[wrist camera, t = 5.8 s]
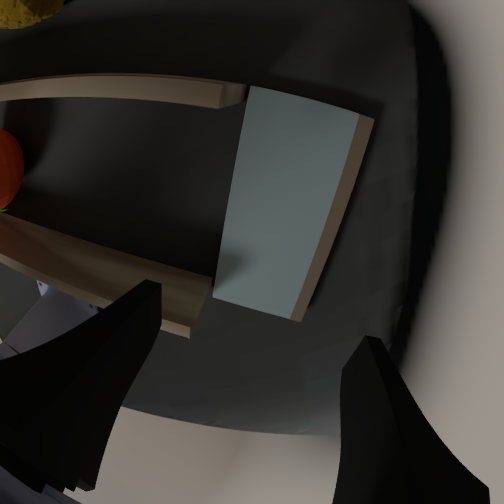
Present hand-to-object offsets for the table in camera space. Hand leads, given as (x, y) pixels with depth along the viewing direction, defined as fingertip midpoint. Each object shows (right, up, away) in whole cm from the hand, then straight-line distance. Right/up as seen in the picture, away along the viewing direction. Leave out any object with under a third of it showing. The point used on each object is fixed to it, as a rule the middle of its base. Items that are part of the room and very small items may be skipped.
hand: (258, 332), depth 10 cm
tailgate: (-2, +5, +7) cm, 9 cm away
